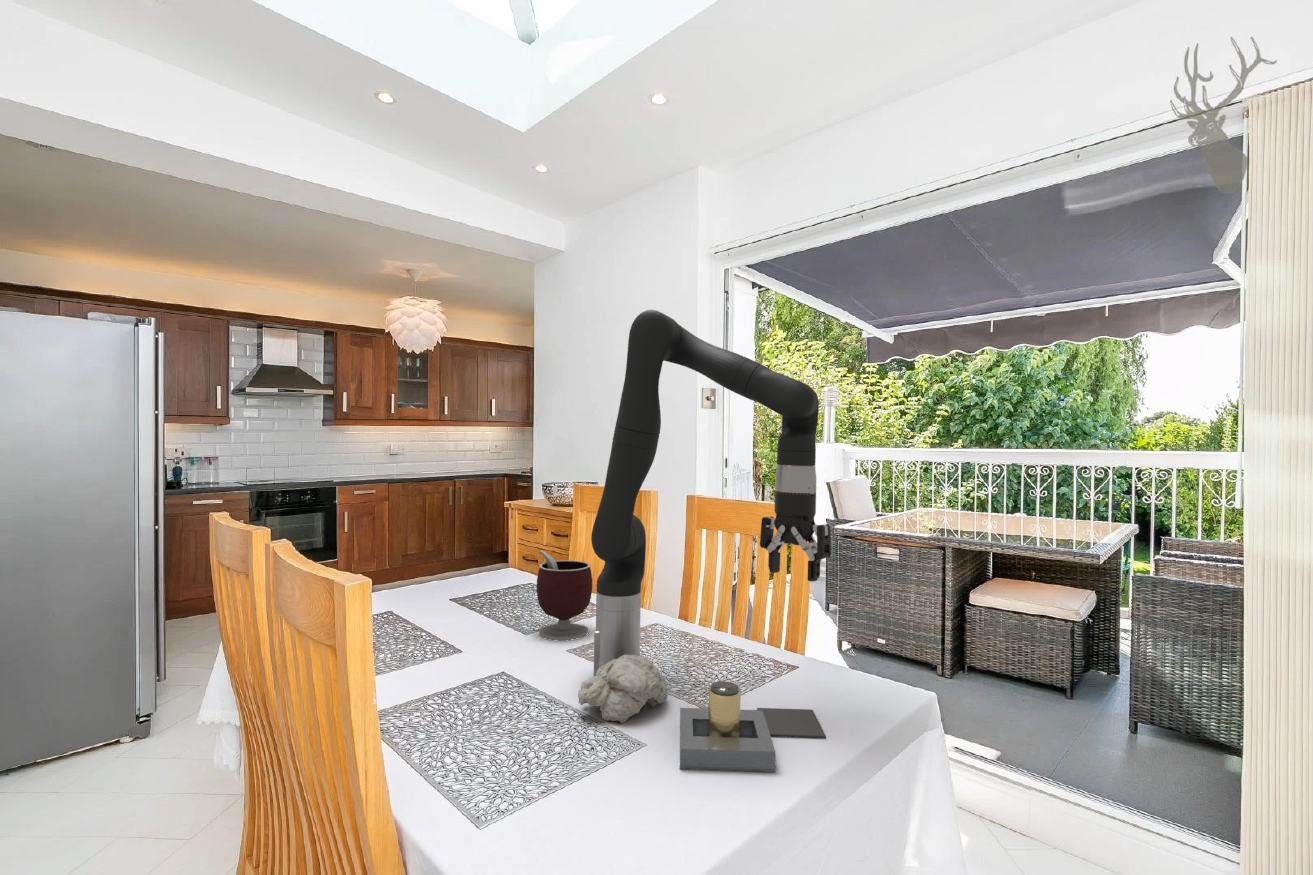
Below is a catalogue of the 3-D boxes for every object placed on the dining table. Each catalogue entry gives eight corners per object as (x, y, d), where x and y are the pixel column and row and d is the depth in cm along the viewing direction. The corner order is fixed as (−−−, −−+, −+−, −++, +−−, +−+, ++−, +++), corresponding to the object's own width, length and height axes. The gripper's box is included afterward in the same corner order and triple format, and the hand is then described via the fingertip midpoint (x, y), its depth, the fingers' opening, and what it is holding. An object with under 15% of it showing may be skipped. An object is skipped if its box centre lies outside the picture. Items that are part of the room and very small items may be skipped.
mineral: (566, 687, 113) (571, 649, 109) (651, 670, 120) (660, 633, 116) (584, 746, 104) (591, 706, 99) (676, 723, 110) (686, 685, 106)
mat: (764, 736, 100) (764, 733, 100) (757, 709, 110) (757, 707, 110) (825, 738, 100) (825, 735, 100) (812, 711, 110) (812, 709, 110)
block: (679, 768, 90) (680, 748, 90) (679, 725, 104) (680, 707, 104) (775, 772, 89) (775, 751, 89) (762, 727, 103) (762, 710, 103)
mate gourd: (602, 630, 156) (603, 552, 156) (566, 645, 144) (568, 561, 144) (556, 620, 164) (558, 546, 164) (519, 633, 152) (520, 553, 153)
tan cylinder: (708, 754, 94) (709, 692, 94) (707, 739, 99) (708, 680, 99) (741, 755, 94) (742, 693, 94) (738, 739, 99) (738, 680, 99)
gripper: (752, 487, 116) (750, 572, 116) (816, 493, 106) (814, 586, 106) (777, 486, 121) (775, 567, 121) (840, 491, 111) (838, 581, 110)
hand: (793, 576), depth 113 cm, fingers open, 8 cm apart
